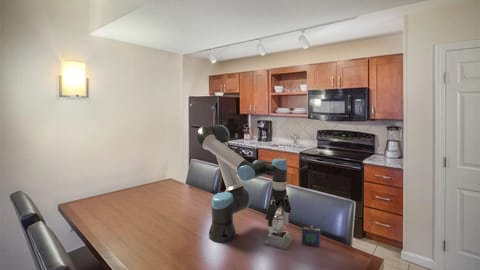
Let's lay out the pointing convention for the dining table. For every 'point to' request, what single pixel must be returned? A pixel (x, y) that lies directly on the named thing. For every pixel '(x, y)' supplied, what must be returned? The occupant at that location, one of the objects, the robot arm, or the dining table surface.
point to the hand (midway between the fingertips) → (278, 227)
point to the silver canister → (278, 225)
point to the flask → (310, 237)
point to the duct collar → (278, 241)
